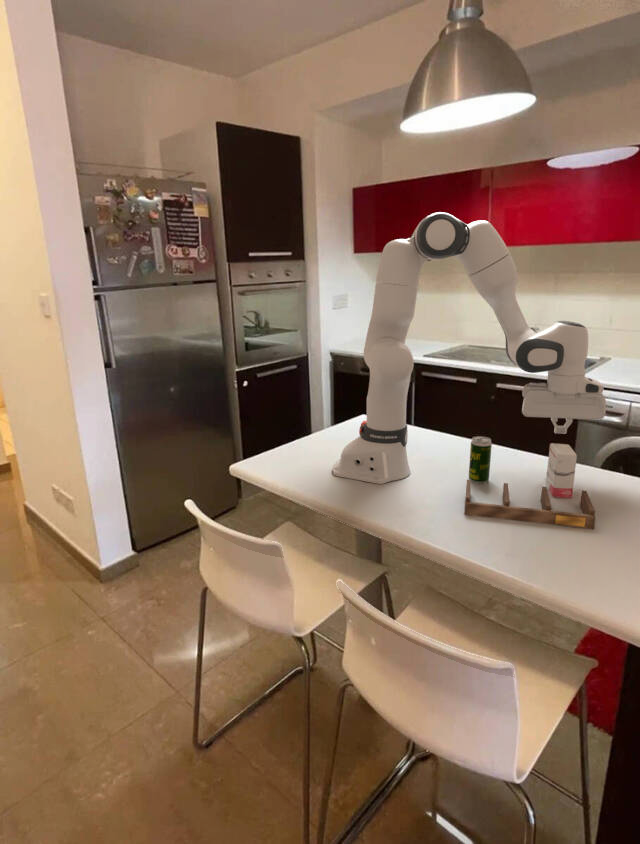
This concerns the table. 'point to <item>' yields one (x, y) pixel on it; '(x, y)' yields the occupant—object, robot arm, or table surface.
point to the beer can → (480, 460)
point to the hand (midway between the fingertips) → (560, 432)
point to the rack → (533, 510)
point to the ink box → (561, 470)
